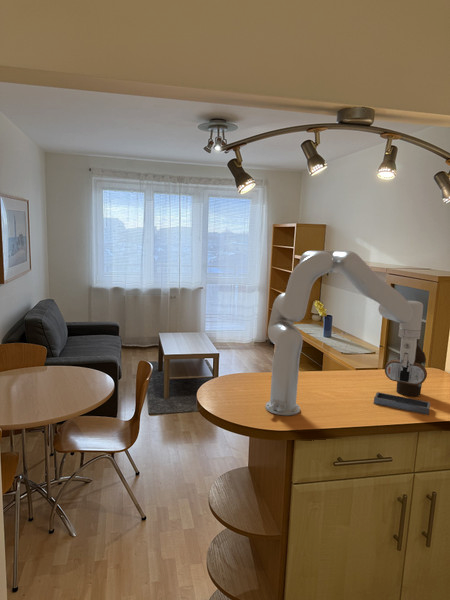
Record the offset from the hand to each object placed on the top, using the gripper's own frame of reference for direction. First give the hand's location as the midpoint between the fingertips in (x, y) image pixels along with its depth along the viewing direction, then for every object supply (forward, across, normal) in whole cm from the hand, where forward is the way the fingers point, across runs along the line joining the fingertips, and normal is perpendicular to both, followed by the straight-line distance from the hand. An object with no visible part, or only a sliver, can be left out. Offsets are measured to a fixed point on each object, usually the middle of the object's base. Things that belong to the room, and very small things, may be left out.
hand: (404, 379), depth 165 cm
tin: (+1, 0, 0) cm, 2 cm away
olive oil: (+11, +18, -1) cm, 21 cm away
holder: (+11, 0, 0) cm, 11 cm away
